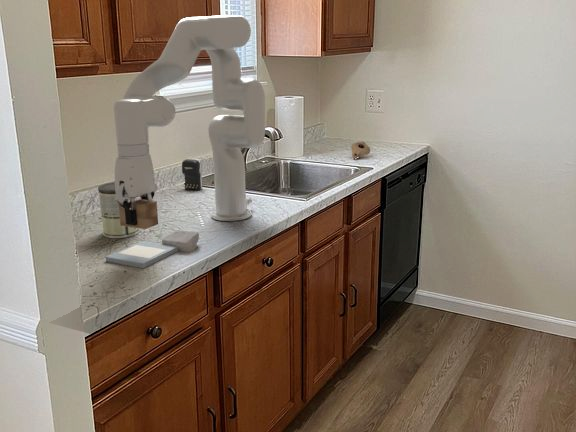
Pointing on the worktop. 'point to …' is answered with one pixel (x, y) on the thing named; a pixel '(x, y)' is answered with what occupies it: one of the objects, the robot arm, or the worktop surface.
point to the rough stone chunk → (182, 240)
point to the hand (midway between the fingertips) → (139, 221)
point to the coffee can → (112, 214)
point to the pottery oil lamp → (360, 149)
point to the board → (142, 254)
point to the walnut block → (142, 214)
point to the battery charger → (192, 174)
